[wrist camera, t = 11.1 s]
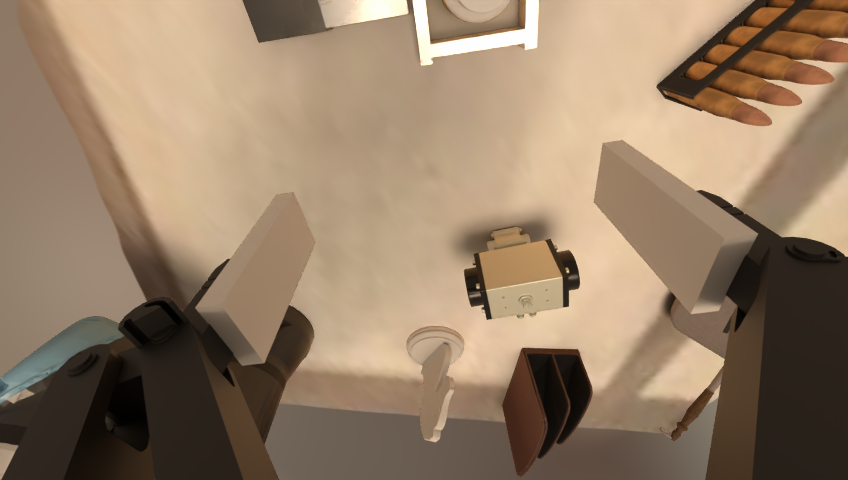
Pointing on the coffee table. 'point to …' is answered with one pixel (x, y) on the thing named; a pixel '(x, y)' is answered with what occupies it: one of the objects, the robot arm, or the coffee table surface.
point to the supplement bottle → (476, 9)
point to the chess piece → (435, 374)
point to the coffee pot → (709, 335)
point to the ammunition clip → (761, 58)
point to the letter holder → (544, 402)
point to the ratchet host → (352, 3)
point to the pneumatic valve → (520, 276)
